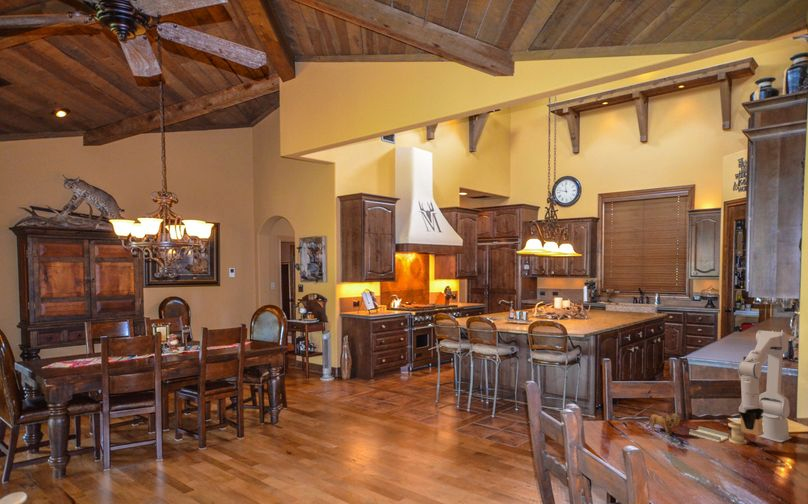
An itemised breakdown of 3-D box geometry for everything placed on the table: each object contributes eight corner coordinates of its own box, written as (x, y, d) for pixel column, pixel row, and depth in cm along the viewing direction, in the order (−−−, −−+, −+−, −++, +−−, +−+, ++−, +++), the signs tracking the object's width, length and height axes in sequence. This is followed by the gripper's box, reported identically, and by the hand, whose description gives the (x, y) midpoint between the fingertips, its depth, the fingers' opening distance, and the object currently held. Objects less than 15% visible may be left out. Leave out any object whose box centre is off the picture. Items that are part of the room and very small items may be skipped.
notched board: (700, 430, 213) (700, 425, 213) (730, 438, 203) (730, 433, 203) (689, 434, 209) (688, 429, 209) (718, 442, 198) (718, 437, 198)
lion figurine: (682, 434, 208) (681, 413, 208) (676, 437, 205) (676, 416, 205) (648, 426, 220) (647, 406, 220) (642, 428, 216) (641, 408, 217)
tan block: (745, 429, 193) (744, 414, 194) (762, 433, 188) (762, 418, 188) (741, 431, 192) (740, 415, 192) (758, 435, 186) (757, 419, 187)
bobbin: (733, 438, 202) (732, 421, 203) (749, 442, 197) (748, 425, 197) (725, 441, 199) (725, 424, 199) (742, 445, 194) (741, 428, 194)
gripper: (752, 397, 183) (754, 434, 183) (770, 392, 191) (772, 427, 190) (732, 393, 189) (733, 429, 189) (750, 388, 197) (751, 422, 196)
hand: (751, 428), depth 190 cm, fingers closed on tan block, 3 cm apart
